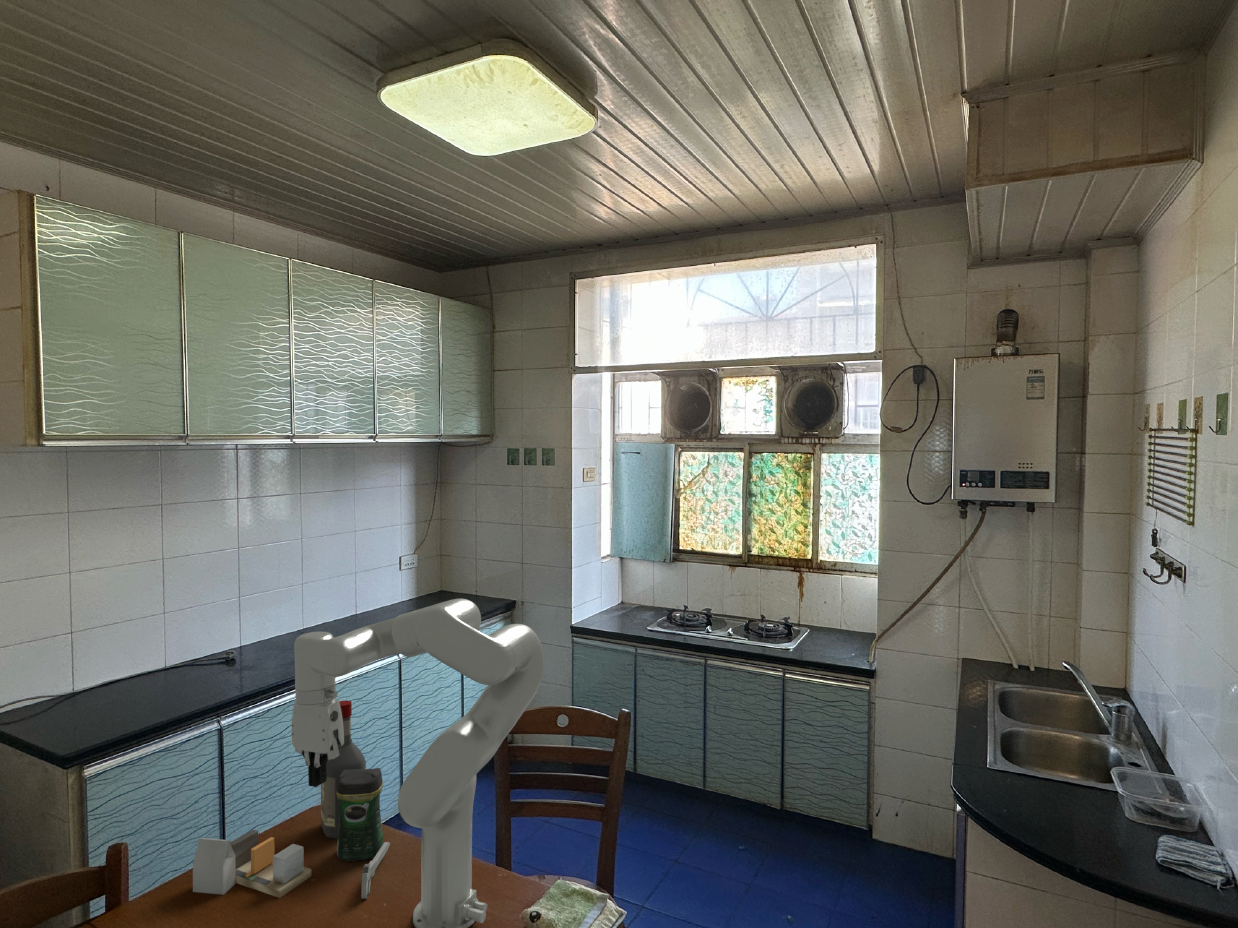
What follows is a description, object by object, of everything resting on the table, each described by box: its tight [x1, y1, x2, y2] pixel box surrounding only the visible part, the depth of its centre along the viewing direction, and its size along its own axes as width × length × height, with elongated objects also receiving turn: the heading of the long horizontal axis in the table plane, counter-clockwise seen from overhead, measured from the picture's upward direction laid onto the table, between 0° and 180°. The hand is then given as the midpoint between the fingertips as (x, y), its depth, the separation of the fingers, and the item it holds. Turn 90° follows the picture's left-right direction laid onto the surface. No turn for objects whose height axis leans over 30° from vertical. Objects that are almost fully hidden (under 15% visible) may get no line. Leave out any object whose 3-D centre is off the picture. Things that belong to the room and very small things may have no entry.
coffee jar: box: [336, 767, 384, 862], centre depth 158 cm, size 10×8×19 cm
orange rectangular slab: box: [245, 836, 276, 877], centre depth 148 cm, size 1×6×5 cm, turn 156°
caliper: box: [360, 841, 391, 900], centre depth 151 cm, size 20×1×6 cm, turn 5°
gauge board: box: [230, 829, 312, 899], centre depth 148 cm, size 16×8×7 cm, turn 67°
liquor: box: [320, 699, 367, 840], centre depth 168 cm, size 9×9×30 cm
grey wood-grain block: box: [273, 843, 305, 884], centre depth 146 cm, size 3×5×5 cm, turn 157°
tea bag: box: [192, 837, 237, 895], centre depth 145 cm, size 4×7×10 cm, turn 83°
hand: (317, 783), depth 144 cm, fingers closed
